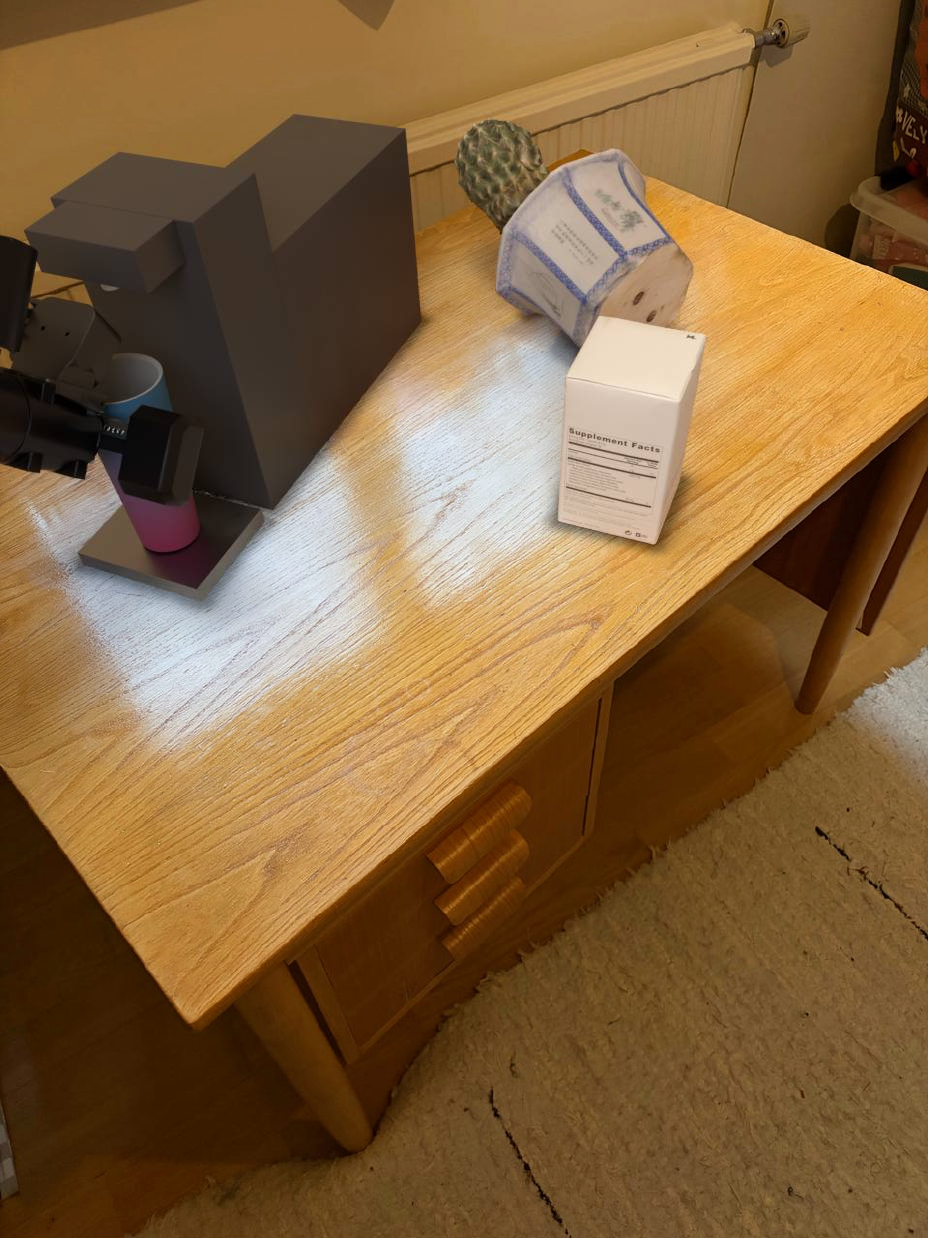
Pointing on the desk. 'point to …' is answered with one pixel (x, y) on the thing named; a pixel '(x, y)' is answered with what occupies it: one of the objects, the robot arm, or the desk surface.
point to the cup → (126, 390)
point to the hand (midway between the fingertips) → (152, 450)
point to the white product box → (627, 426)
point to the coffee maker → (251, 285)
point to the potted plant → (572, 233)
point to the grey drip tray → (181, 569)
